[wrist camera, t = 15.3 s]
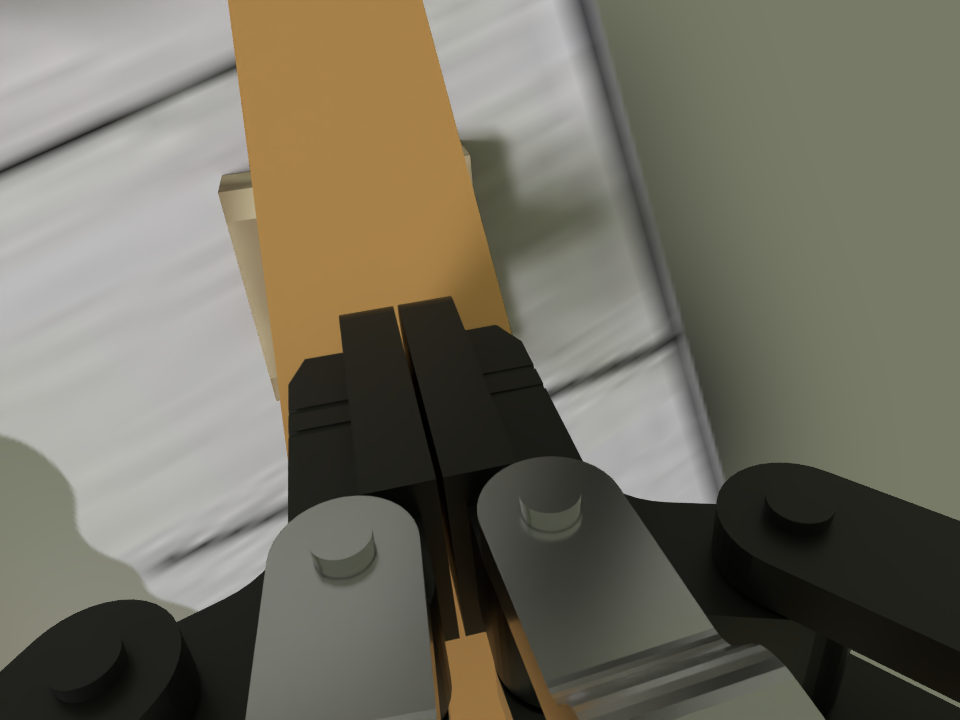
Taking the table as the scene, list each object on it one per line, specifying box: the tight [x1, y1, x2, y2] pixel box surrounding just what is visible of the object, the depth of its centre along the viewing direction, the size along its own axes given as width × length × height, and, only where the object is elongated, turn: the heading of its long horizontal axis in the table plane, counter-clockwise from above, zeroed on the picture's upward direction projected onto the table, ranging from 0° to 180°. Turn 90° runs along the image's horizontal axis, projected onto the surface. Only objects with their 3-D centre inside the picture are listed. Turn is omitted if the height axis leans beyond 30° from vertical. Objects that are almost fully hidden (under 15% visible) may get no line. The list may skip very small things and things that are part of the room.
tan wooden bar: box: [228, 0, 512, 720], centre depth 11 cm, size 4×26×2 cm
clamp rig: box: [218, 141, 473, 401], centre depth 30 cm, size 12×30×20 cm, turn 5°
